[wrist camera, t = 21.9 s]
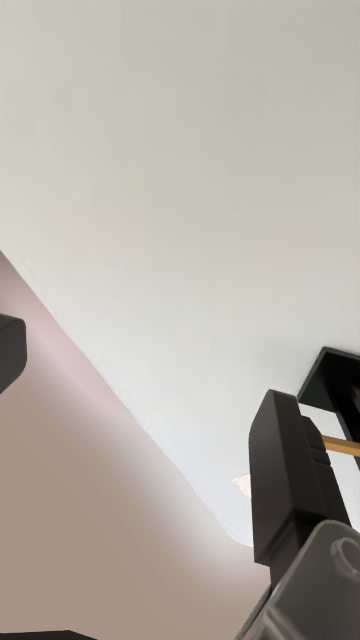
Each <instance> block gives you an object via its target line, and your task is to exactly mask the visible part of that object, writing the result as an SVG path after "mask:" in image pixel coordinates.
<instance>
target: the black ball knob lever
mask: <svg viewBox="0 0 360 640" xmlns="http://www.w3.org/2000/svg"><path fill="white" fill-rule="evenodd" d="M322 438H323V441H324V444H325V447H326V449H327V450H332V451H336V452H340V453H345V454H349V455H354V456H358V457H360V443H355V442H351V441H347V440H342V439H338V438H333V437H329V436H324V435H322Z"/></svg>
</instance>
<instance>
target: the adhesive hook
mask: <svg viewBox="0 0 360 640" xmlns="http://www.w3.org/2000/svg"><path fill="white" fill-rule="evenodd" d="M232 480H233V481H234V482H235V483H236V484H237V486H238V487H239V488H240V489H241V490H242V491H243V492H244V493H245V494H246V495H247V496H248V497H249V499H250V500H251V483H250V474H247V475H244V476H241V477H238V478H235V479H232Z"/></svg>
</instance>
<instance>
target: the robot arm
mask: <svg viewBox="0 0 360 640" xmlns="http://www.w3.org/2000/svg"><path fill="white" fill-rule="evenodd" d="M26 362H27V347H26V325H25V322H24V321H23V320H22V319H19V318H16V317H12V316H8V315H5V314H1V313H0V394H1V393H2V392H3V391H4V390H5V389H6V388H7V387H8V386H9V385H10V384H12V383H13V382H14V381H15V380H16V379H17V378H18V377H19V376H20V375H21V373H22V372H23V370H24V368H25V366H26ZM249 463H250V483H251V503H252V523H253V543H254V562H255V563H259V564H262V565H266V566H268V567H270V575H271V576H270V577H271V584H270V585H269V586H268V588H267V589H266V591H265V592H264V594H263V595H262V597H261V599H260V600H259V602H258V603H257V605H256V606H255V608H254V609H253V611H252V612H251V614H250V616H249V617H248V619H247V620H246V622H245V623H244V625H243V627H242V628H241V630H240V631H239V633H238V634H237V636H236V637H235V639H234V640H360V533H358V532H357V531H356V530H355V529H353V528H352V526H351V523H350V520H349V517H348V514H347V511H346V508H345V505H344V502H343V499H342V496H341V493H340V490H339V487H338V484H337V481H336V478H335V475H334V472H333V469H332V467H330V464H331V463H330V460H329V456H328V453H326V447H325V444H324V441H323V438H322V435H321V433H320V431H319V430H318V429H317V427H316V426H315V425H314V423H313V422H312V420H311V419H310V418H309V417H306V416H302V415H301V413H300V410H299V406H298V402H297V399H296V397H295V396H294V395H290V394H286V393H283V392H279V391H276V390H272V389H269V390H268V391H267V393H266V395H265V397H264V399H263V401H262V403H261V406H260V408H259V410H258V412H257V414H256V416H255V419H254V421H253V423H252V426H251V429H250V434H249ZM0 640H97V639H94V638H91V637H88V636H85V635H82V634H79V633H76V632H73V631H70V630H64V631H44V632H24V633H0Z"/></svg>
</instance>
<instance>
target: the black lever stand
mask: <svg viewBox="0 0 360 640" xmlns="http://www.w3.org/2000/svg"><path fill="white" fill-rule="evenodd" d="M297 401H298V403H301V404H305V405H309V406H312V407H316V408H319V409H323V410H327V411H330V412H334V413H336V416H337V418H338V420H339V423H340V425H341V427H342V430H343V432H344V435H345V437H346V439H347V441H351V442H355V443H360V356H356V355H353V354H349V353H345V352H341V351H338V350H334V349H330V348H326V347H323V348H322V350H321V352H320V354H319V356H318V358H317V360H316V362H315V363H314V365H313V367H312V369H311V371H310V373H309V375H308V377H307V379H306V380H305V382H304V384H303V386H302V388H301V390H300V392H299V394H298V395H297ZM353 456H354V455H353ZM354 458H355V461H356V463H357V466H358V468H359V470H360V457H358V456H354Z"/></svg>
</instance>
